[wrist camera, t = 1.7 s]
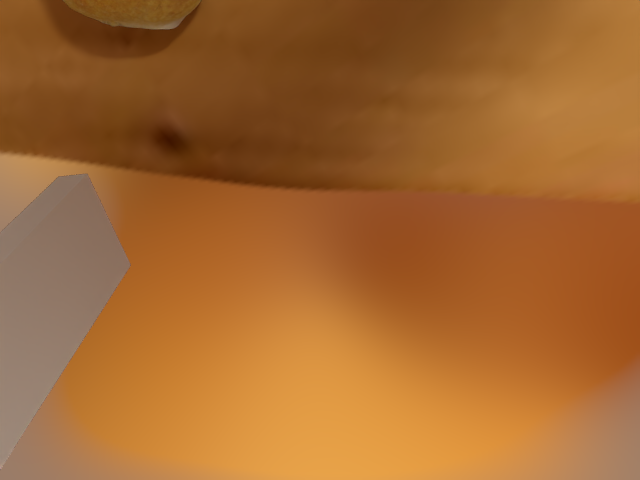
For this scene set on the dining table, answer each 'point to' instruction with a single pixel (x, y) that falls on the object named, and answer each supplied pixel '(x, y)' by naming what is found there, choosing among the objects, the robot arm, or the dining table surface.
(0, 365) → the robot arm
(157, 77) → the dining table surface
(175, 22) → the bread roll
